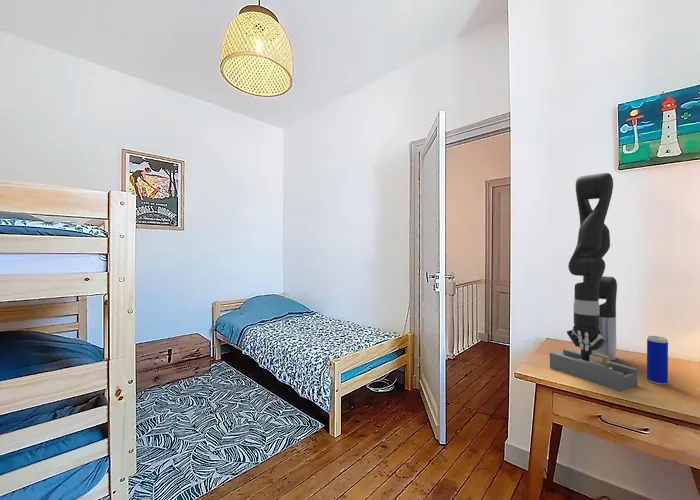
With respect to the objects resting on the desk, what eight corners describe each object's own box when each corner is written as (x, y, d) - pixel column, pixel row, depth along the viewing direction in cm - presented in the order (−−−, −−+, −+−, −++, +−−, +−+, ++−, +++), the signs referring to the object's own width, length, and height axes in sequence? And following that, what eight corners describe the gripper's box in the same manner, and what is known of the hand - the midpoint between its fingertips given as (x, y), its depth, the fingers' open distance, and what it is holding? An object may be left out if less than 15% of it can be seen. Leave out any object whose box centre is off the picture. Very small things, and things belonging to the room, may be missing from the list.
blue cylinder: (671, 385, 107) (672, 340, 107) (653, 384, 108) (653, 339, 108) (660, 379, 112) (660, 335, 112) (643, 378, 114) (643, 335, 113)
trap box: (566, 362, 129) (566, 348, 129) (637, 385, 108) (637, 368, 108) (549, 367, 125) (549, 352, 125) (620, 391, 104) (620, 374, 104)
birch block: (596, 364, 116) (596, 353, 116) (609, 368, 113) (609, 356, 112) (589, 366, 115) (589, 354, 115) (602, 370, 111) (602, 358, 111)
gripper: (613, 314, 113) (613, 364, 113) (573, 307, 125) (573, 353, 125) (600, 316, 110) (600, 368, 110) (561, 309, 122) (561, 356, 122)
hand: (586, 360), depth 118 cm, fingers closed
